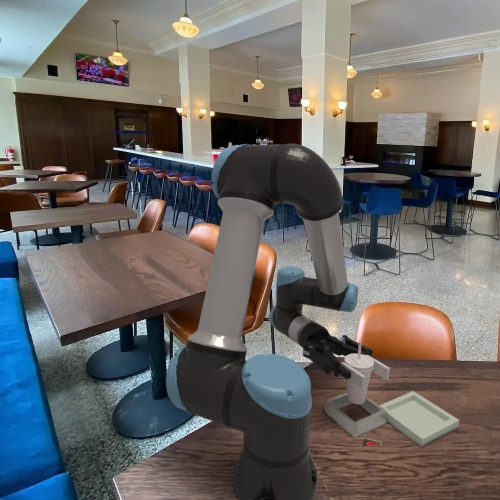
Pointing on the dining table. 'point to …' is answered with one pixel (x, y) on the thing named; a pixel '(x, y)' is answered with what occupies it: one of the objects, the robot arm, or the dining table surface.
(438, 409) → the tray
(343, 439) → the dining table surface
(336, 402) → the square frame
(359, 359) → the smoothie
